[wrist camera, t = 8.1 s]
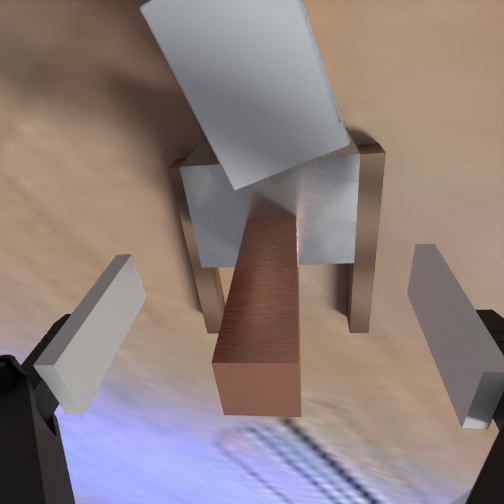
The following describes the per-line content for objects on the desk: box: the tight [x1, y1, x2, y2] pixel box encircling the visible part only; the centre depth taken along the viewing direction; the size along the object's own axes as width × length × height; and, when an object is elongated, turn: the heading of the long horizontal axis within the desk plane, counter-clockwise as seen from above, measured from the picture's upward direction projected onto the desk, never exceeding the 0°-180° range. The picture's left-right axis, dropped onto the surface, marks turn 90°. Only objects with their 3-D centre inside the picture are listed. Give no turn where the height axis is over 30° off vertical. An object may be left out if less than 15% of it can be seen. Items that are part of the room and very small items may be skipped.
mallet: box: [180, 128, 360, 417], centre depth 19 cm, size 7×10×17 cm
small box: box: [139, 0, 350, 190], centre depth 18 cm, size 8×6×10 cm
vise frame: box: [169, 144, 386, 333], centre depth 22 cm, size 28×15×9 cm, turn 6°
